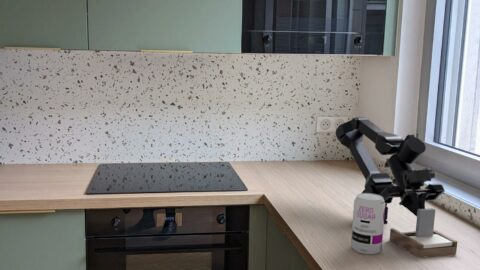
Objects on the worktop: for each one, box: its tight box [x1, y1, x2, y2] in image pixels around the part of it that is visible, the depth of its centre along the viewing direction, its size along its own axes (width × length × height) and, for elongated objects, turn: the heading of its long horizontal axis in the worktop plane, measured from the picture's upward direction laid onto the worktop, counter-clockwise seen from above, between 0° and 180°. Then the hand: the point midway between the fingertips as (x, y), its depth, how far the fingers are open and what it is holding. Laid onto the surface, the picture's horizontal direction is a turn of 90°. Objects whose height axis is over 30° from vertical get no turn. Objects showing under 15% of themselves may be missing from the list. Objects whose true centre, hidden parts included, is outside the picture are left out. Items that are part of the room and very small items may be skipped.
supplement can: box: [350, 192, 385, 256], centre depth 144 cm, size 8×8×15 cm
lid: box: [410, 207, 452, 249], centre depth 145 cm, size 6×9×9 cm
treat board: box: [389, 227, 458, 259], centre depth 149 cm, size 14×12×4 cm
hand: (423, 219), depth 148 cm, fingers closed, pressing on lid
